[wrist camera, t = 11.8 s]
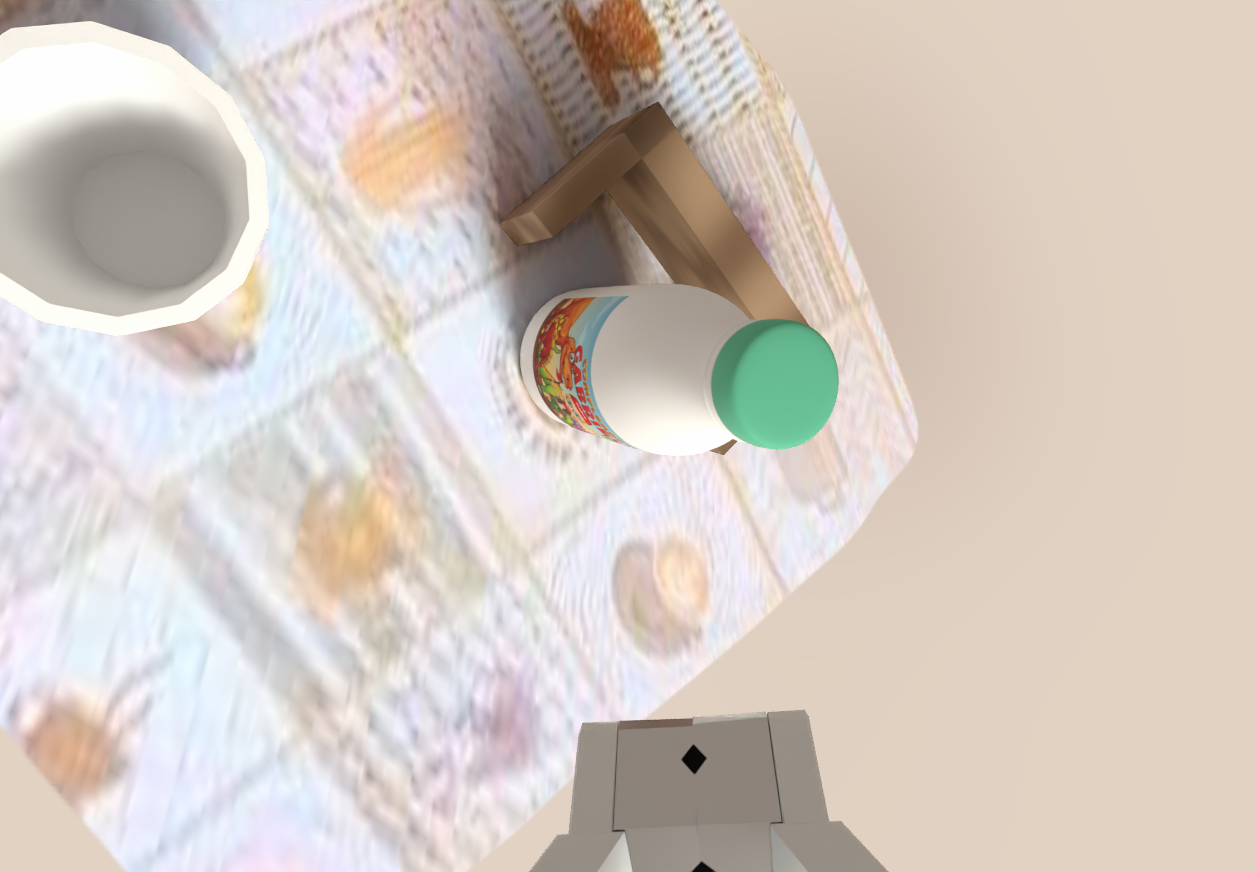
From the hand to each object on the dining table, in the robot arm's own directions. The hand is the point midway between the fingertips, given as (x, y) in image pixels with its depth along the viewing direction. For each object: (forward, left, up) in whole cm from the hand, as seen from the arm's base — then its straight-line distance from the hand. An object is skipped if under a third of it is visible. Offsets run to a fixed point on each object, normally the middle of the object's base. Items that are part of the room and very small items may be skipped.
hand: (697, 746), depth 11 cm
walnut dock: (+5, +16, -35) cm, 39 cm away
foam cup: (-13, -1, -35) cm, 38 cm away
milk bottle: (+5, +11, -35) cm, 37 cm away
